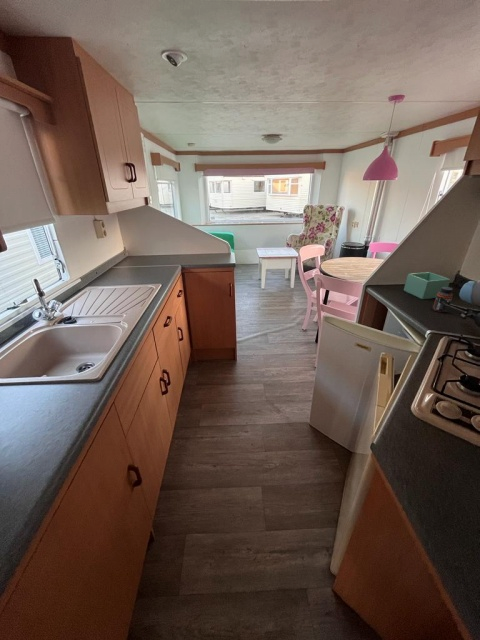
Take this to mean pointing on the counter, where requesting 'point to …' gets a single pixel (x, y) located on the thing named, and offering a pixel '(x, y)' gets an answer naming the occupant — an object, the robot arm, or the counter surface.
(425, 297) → the waste bin
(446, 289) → the supplement bottle
